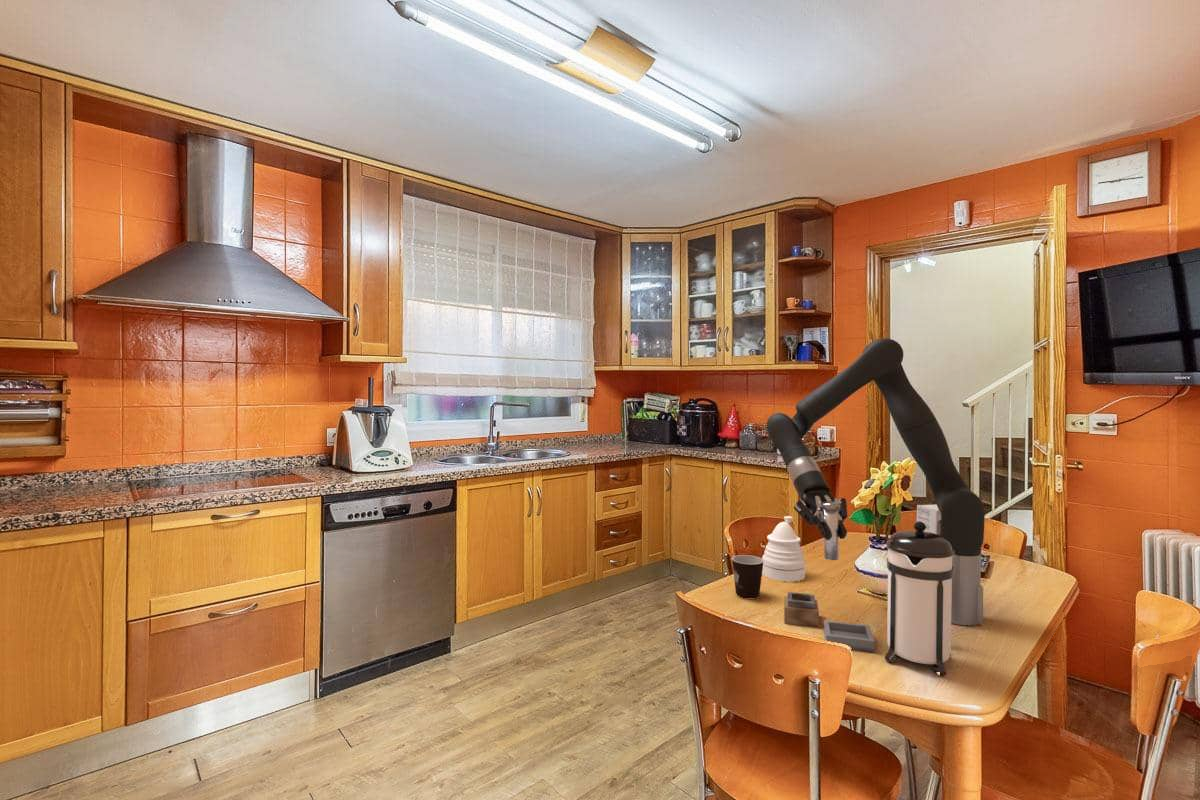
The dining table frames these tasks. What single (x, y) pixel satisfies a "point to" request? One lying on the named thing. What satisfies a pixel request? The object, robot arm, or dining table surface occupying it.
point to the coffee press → (919, 597)
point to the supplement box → (930, 518)
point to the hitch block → (801, 609)
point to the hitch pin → (831, 529)
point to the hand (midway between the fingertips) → (836, 537)
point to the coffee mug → (747, 575)
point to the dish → (850, 635)
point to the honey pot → (784, 554)
